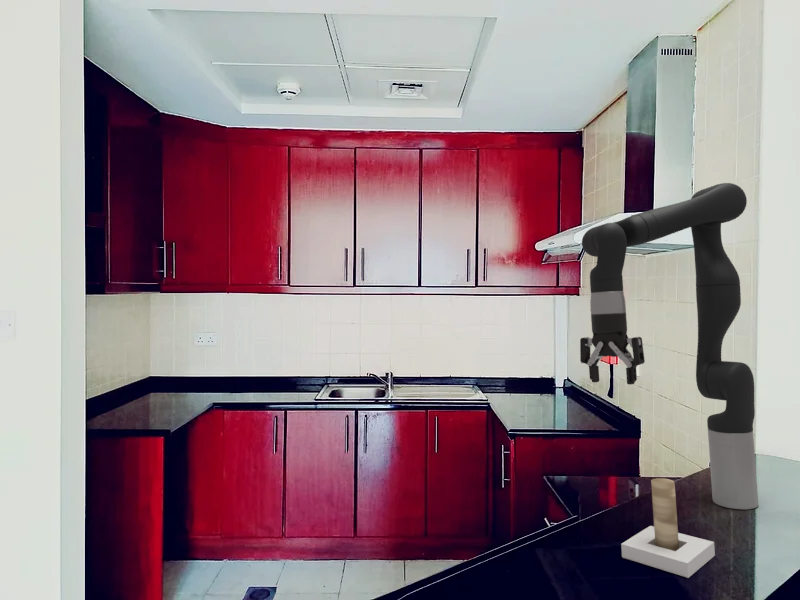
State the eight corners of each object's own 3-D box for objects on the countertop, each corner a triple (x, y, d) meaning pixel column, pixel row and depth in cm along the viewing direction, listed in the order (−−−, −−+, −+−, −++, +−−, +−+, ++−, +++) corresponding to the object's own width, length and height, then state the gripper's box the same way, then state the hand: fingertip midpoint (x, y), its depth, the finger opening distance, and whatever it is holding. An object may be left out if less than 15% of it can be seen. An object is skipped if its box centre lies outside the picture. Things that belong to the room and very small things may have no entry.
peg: (661, 549, 106) (656, 477, 107) (683, 555, 103) (678, 480, 104) (652, 556, 104) (647, 481, 104) (674, 562, 101) (668, 486, 101)
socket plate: (651, 538, 112) (650, 525, 112) (714, 555, 103) (714, 541, 103) (622, 557, 104) (621, 543, 104) (688, 577, 95) (687, 563, 95)
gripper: (646, 310, 123) (651, 382, 122) (588, 312, 133) (592, 379, 133) (630, 311, 118) (635, 387, 117) (571, 313, 128) (575, 383, 128)
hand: (612, 383), depth 125 cm, fingers open, 8 cm apart
